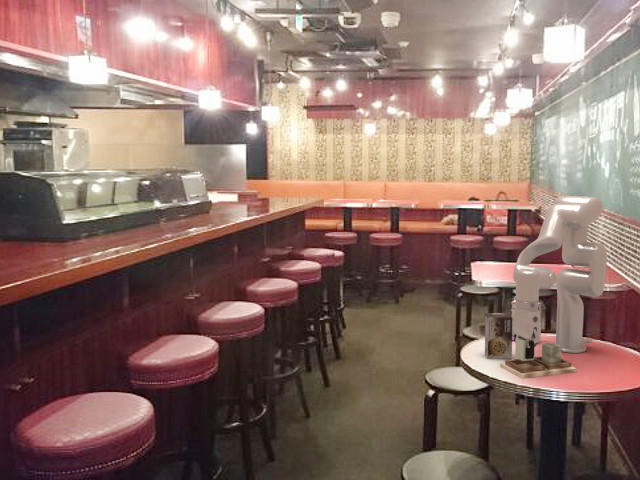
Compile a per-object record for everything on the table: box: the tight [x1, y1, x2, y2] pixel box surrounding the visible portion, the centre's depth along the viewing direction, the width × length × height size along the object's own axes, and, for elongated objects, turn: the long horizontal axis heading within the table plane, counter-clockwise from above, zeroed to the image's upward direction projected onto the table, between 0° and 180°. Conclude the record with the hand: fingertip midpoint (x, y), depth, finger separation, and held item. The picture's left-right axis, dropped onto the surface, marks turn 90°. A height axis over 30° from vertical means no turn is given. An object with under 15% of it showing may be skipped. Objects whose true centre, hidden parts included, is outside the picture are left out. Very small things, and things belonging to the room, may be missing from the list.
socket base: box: [499, 342, 578, 379], centre depth 215 cm, size 22×13×8 cm, turn 107°
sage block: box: [514, 337, 536, 361], centre depth 213 cm, size 4×4×7 cm
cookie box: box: [484, 312, 513, 360], centre depth 230 cm, size 9×6×16 cm
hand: (524, 355), depth 214 cm, fingers closed on sage block, 4 cm apart
